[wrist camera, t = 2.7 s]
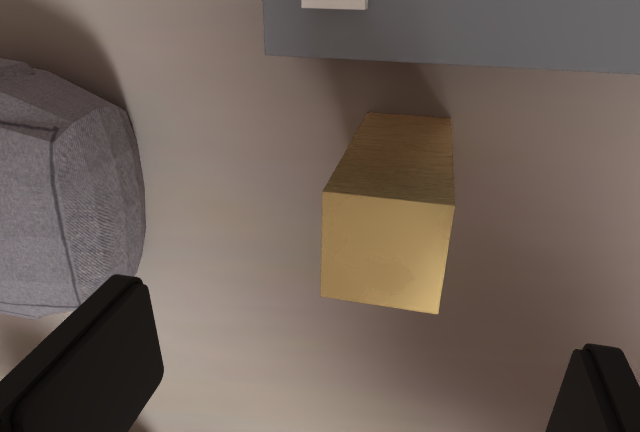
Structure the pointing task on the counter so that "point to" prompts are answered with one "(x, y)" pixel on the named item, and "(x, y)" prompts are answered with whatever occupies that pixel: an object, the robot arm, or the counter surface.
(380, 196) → the plug
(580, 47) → the socket
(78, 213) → the soft grey pack
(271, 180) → the counter surface
